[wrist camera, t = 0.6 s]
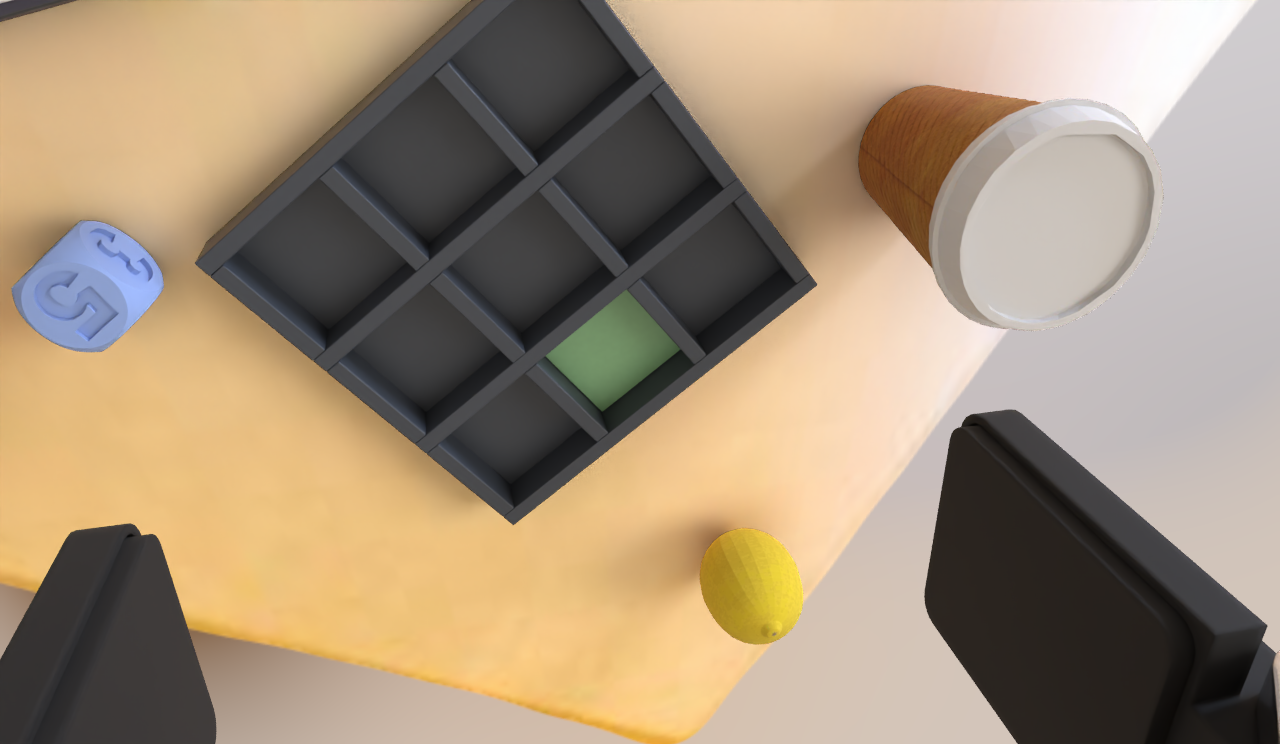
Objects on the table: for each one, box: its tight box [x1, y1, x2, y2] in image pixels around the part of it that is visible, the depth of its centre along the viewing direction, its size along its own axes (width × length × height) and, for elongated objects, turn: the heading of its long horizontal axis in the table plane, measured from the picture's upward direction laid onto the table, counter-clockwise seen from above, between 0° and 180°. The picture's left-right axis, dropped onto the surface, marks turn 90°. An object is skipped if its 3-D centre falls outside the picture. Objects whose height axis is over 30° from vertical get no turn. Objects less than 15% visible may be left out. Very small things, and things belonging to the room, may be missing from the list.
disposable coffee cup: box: [859, 85, 1163, 331], centre depth 41 cm, size 10×10×12 cm
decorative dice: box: [11, 221, 164, 352], centre depth 39 cm, size 4×4×4 cm
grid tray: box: [195, 0, 817, 525], centre depth 43 cm, size 20×20×3 cm
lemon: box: [700, 528, 803, 644], centre depth 52 cm, size 6×6×8 cm
